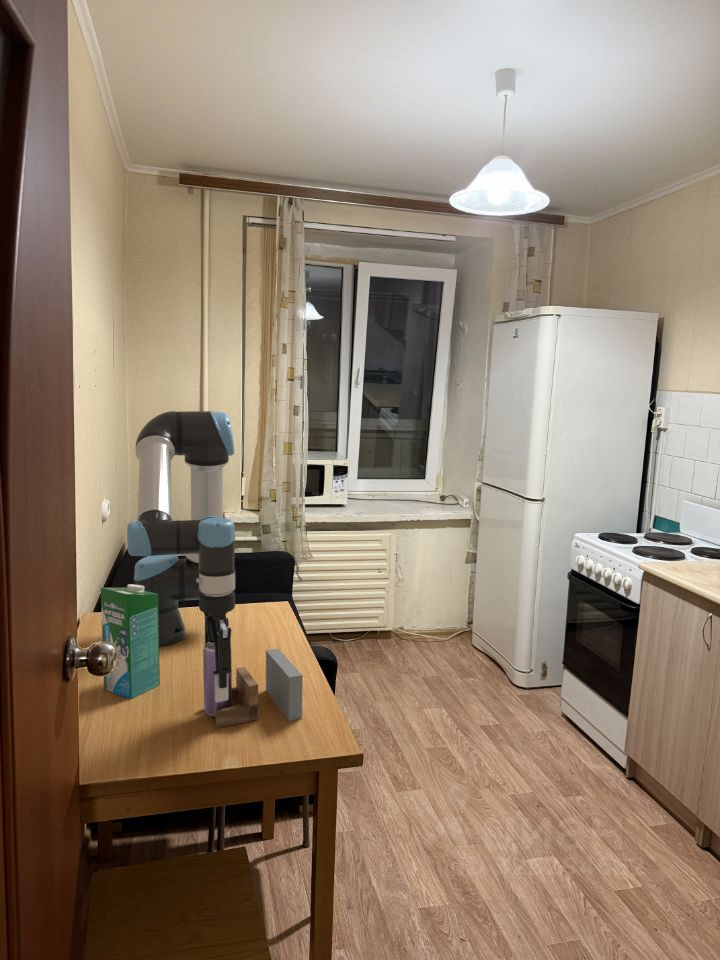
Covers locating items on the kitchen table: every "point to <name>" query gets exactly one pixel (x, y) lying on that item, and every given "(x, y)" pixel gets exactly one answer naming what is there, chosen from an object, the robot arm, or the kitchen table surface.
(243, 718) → the bracket
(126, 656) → the milk carton
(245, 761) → the kitchen table surface
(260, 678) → the kitchen table surface
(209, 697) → the beverage can
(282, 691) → the backstop
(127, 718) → the kitchen table surface
